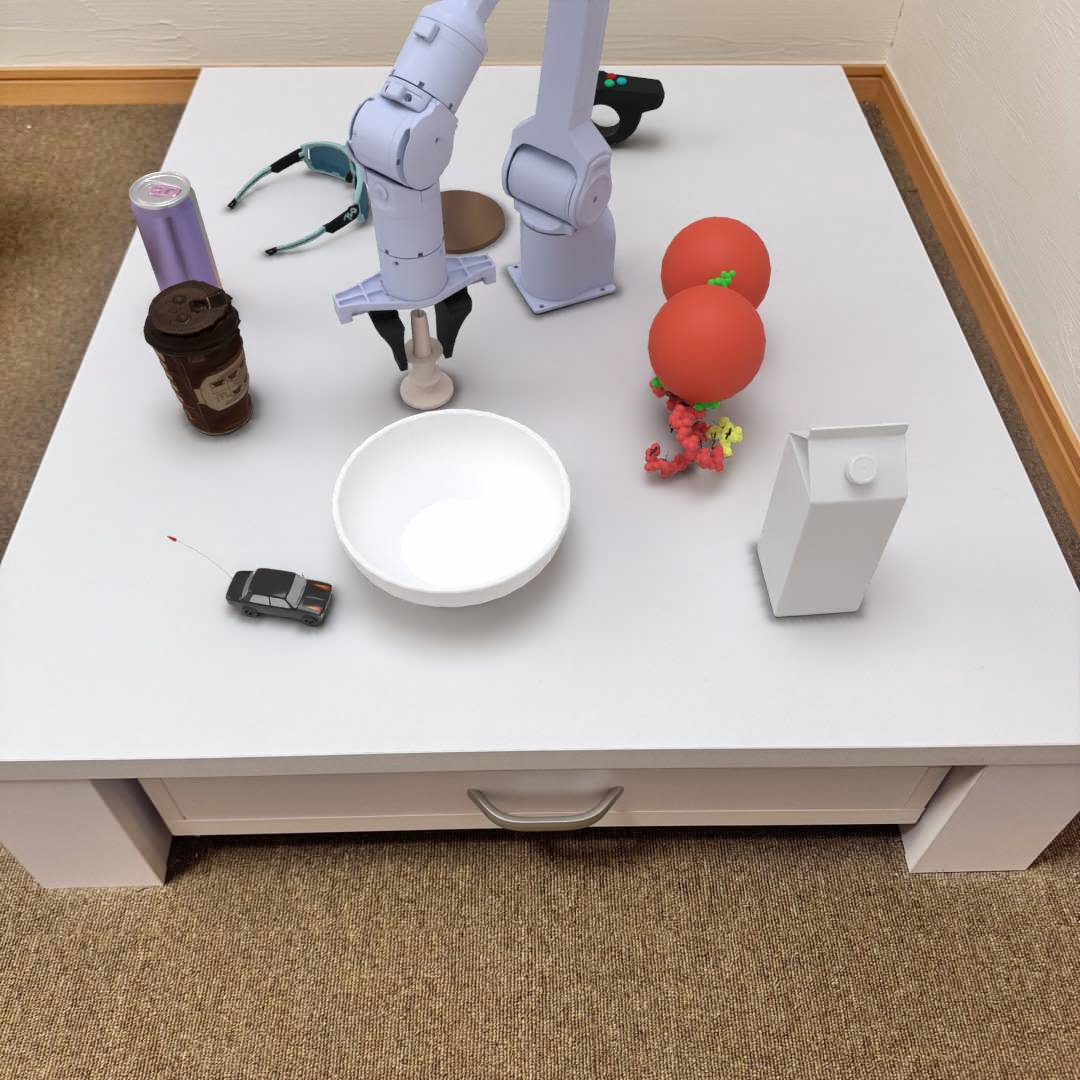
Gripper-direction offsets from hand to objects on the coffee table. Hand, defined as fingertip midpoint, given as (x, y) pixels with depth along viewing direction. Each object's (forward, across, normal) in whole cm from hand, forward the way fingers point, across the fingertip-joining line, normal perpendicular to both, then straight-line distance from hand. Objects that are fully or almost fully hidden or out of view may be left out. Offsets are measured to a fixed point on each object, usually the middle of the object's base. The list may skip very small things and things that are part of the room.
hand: (423, 357), depth 100 cm
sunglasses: (+5, +3, -33) cm, 33 cm away
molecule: (+5, -24, +11) cm, 27 cm away
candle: (+5, 0, 0) cm, 5 cm away
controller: (+5, -35, -32) cm, 48 cm away
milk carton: (+5, -22, +34) cm, 41 cm away
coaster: (+4, -12, -24) cm, 27 cm away
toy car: (+5, +21, +18) cm, 28 cm away
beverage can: (+5, +18, -20) cm, 27 cm away
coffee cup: (+5, +19, -5) cm, 20 cm away
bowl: (+5, +4, +19) cm, 20 cm away
